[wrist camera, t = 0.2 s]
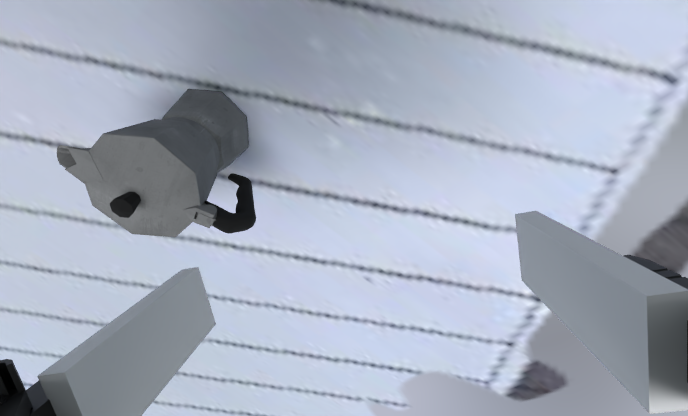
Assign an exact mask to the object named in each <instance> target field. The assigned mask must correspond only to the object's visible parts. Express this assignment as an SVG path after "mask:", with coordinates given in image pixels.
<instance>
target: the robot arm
mask: <svg viewBox="0 0 688 416" xmlns="http://www.w3.org/2000/svg"><path fill="white" fill-rule="evenodd" d="M515 219H516V229H517V238H518V248H519V258H520V267H521V277H522V281H523V282H524V283H525V284H526V285H527V286H528V287H529V288H530V289H531V290H532V292H533V293H534V294H535V295H536V296H537V297H538V298H539V299H540V300H541V301H542V302H543V303H544V304H545V305H546V306H547V307H548V308H549V309H550V310H551V311H552V312H553V313H554V314H555V315H556V316H557V318H559V320H560V321H561V322H562V323H563V324H564V325H565V326H566V327H567V328H568V329H569V330H570V331H571V332H572V333H573V334H574V335H575V336H576V337H577V338H578V340H579V341H580V342H581V343H582V344H583V345H584V346H585V347H586V348H587V349H588V350H589V351H590V352H591V353H592V354H593V355H594V356H595V357H596V358H597V359H598V360H599V361H600V362H601V364H602V365H603V366H604V367H605V368H606V369H607V370H608V371H609V372H610V373H611V374H612V375H613V376H614V377H615V378H616V379H617V380H618V381H619V382H620V383H621V384H622V385H623V386H624V388H626V390H627V391H628V392H629V393H630V394H631V395H632V396H633V397H634V398H635V399H636V400H637V401H638V402H639V403H640V404H641V405H642V406H643V407H644V408H645V409H646V411H647V412H648V413H649V414H651V413H662V412H674V411H684V410H688V278H686V277H681V275H680V274H678V273H675V272H673V271H671V270H667V268H665V267H663V266H661V265H659V264H657V263H655V262H653V261H651V260H647V259H643V258H639V257H635V256H631V255H624V256H622V255H620V254H618V253H616V252H614V251H613V250H610V249H609V248H607V247H605V246H603V245H601V244H599V243H597V242H595V241H593V240H591V239H589V238H588V237H586V236H584V235H582V234H580V233H578V232H576V231H574V230H572V229H570V228H568V227H566V226H564V225H562V224H561V223H559V222H557V221H555V220H553V219H551V218H549V217H547V216H545V215H543V214H541V213H539V212H537V211H532V212H526V213H520V214H515ZM215 324H216V323H215V320H214V316H213V313H212V310H211V307H210V303H209V300H208V297H207V294H206V290H205V287H204V284H203V281H202V277H201V274H200V271H199V268H198V267H195V268H189V269H183V270H181V271H180V272H178V273H177V274H176V275H174V276H173V277H171V278H170V279H169V280H167V281H166V282H165V283H163V284H162V285H161V286H159V287H158V288H156V289H155V290H154V291H152V292H151V293H150V294H148V295H147V296H146V297H144V298H143V299H141V300H140V301H139V302H137V303H136V304H135V305H133V306H132V307H131V308H129V309H128V310H127V311H125V312H124V313H122V314H121V315H120V316H118V317H117V318H116V319H114V320H113V321H112V322H110V323H109V324H107V325H106V326H105V327H103V328H102V329H101V330H99V331H98V332H97V333H95V334H94V335H93V336H91V337H90V338H88V339H87V340H86V341H84V342H83V343H82V344H80V345H79V346H78V347H76V348H75V349H73V350H72V351H71V352H69V353H68V354H67V355H65V356H64V357H63V358H61V359H60V360H58V361H57V362H56V363H54V364H53V365H52V366H50V367H49V368H48V369H46V370H45V371H44V372H42V373H41V374H39V375H38V379H39V381H38V382H37V383H35V384H34V385H33V386H31V387H30V388H29V389H27V390H25V388H24V385H23V383H22V381H21V379H20V376H19V374H18V372H17V370H16V368H15V365H14V363H13V361H12V360H9V359H5V360H0V416H142V414H143V413H144V412H145V411H146V409H147V408H148V407H149V406H150V404H151V403H152V402H153V401H154V400H155V398H156V397H157V396H158V395H159V393H160V392H161V391H162V390H163V388H164V387H165V386H166V385H167V384H168V382H169V381H170V380H171V379H172V377H173V376H174V375H175V374H176V372H177V371H178V370H179V369H180V368H181V366H182V365H183V364H184V363H185V361H186V360H187V359H188V358H189V356H190V355H191V354H192V353H193V352H194V350H195V349H196V348H197V347H198V345H199V344H200V343H201V342H202V340H203V339H204V338H205V337H206V336H207V334H208V333H209V332H210V331H211V329H212V328H213V327H214V326H215Z"/></svg>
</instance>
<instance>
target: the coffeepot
mask: <svg viewBox="0 0 688 416" xmlns="http://www.w3.org/2000/svg"><path fill="white" fill-rule="evenodd" d="M247 148H248V128H247V119H246V116H245V115H244V114H243V113H242V112H241V111H240V109H239V108H238V107H237V106H236V105H235V104H234V103H233V102H232V101H231V100H230V99H228V98H227V97H226V96H225V95H224V94H223V93H222V92H217V91H209V90H192V89H188V90H187V91H186V92H185V93H184V94H183V95H182V97H181V98H180V99H179V100H178V101H177V102H176V103H175V104H174V105H173V107H172V108H171V109H170V110H169V111H168V112H167V114H166V115H165V116H164V117H163V118H162V119H161V120H155V119H154V120H151V121H147V122H143V123H140V124H136V125H133V126H129V127H125V128H122V129H118V130H114V131H111V132H107V133H104V134H102V136H101V137H100V138H99V139H98V141H97V142H96V143H95V144H94V145H93V147H92V148H85V149H81V148H75V147H69V146H63V145H60V146H58V148H57V158H58V161H59V163H60V165H62V166H63V167H65V168H66V169H65V170H67V171H68V172H69V173H71V174H72V175H73V176H75V177H76V178H78V179H79V180H80V181H82V182H83V183H84V184H85V185H86V188H87V191H88V194H89V197H90V200H91V202H92V205H93V206H94V207H95V208H97V209H98V210H100V211H101V212H102V213H104V214H105V215H107V216H108V217H109V218H111V219H112V220H114V221H115V222H116V223H118V224H119V225H121V226H122V227H123V228H125V229H126V230H128V231H129V232H130V233H132V234H140V235H154V236H167V237H176V236H177V235H178V234H179V233H181V232H182V231H183V230H184V229H185V228H186V227H187V226H188V225H190V224H191V223H192V222H195V223H197V224H200V225H202V226H205V227H207V228H210V226H214V227H216V228H217V229H219V230H221V231H223V232H225V233H234V232H240V231H245V230H247V229H249V228H251V227H253V225H254V223H255V221H256V215H255V210H254V200H253V193H252V184H251V181H250V180H249V179H248V178H246V177H243V176H240V175H237V174H230V175H229V176H228V179H229V180H231V181H233V182H234V183H236V184H237V185H239V188H238V190H237V193H236V196H237V199H238V203H237V205H236V213H230V212H228V211H226V210H224V209H222V208H220V207H218V206H216V205H214V204H212V203H210V202H208V201H207V198H208V196H209V193H210V191H211V188H212V186H213V183H214V181H215V178H216V176H217V173H218V172H220V171H221V170H223V169H224V168H226V167H227V166H229V165H230V164H231V163H232V162H233V161H234V160H235V159H236V158H237V157H238V156H239V155H241V154H242V153H243V152H244V151H245V150H246V149H247Z"/></svg>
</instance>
